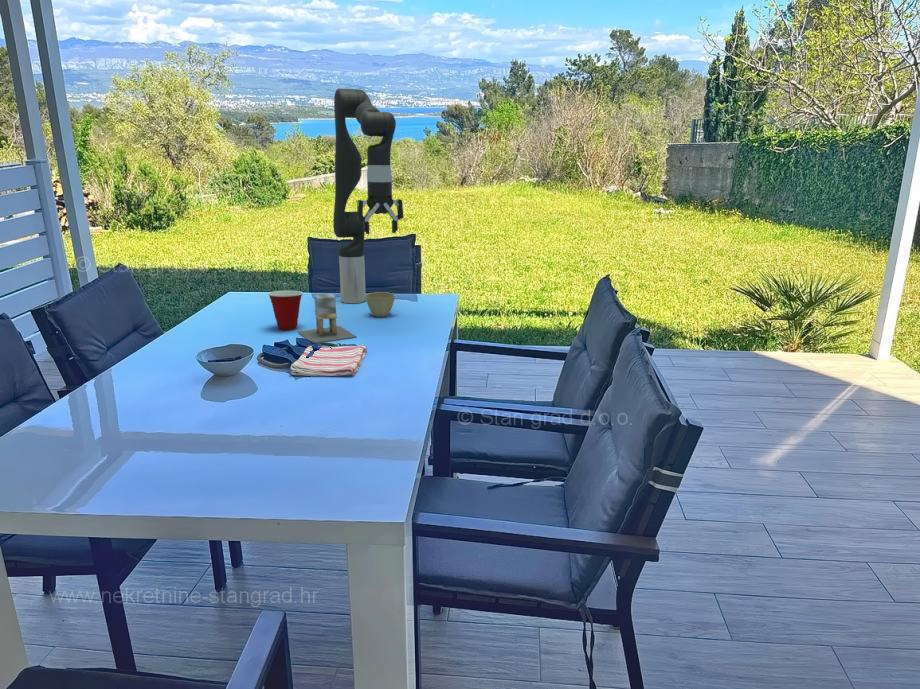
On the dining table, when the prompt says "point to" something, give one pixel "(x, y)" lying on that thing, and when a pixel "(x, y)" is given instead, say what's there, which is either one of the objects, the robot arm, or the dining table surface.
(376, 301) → the flower pot
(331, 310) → the stool
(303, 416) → the dining table surface
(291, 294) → the plastic cup
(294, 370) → the dish towel
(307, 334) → the mat
